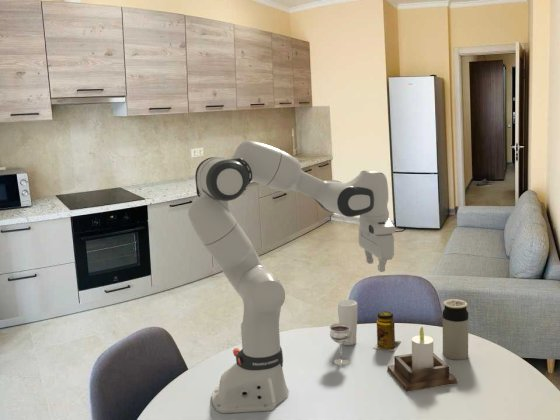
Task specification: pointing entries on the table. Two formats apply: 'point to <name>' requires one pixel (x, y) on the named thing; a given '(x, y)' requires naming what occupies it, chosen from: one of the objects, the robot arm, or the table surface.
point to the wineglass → (340, 339)
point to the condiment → (386, 332)
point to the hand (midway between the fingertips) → (375, 267)
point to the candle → (422, 351)
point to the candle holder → (420, 374)
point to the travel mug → (455, 329)
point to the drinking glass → (348, 318)
